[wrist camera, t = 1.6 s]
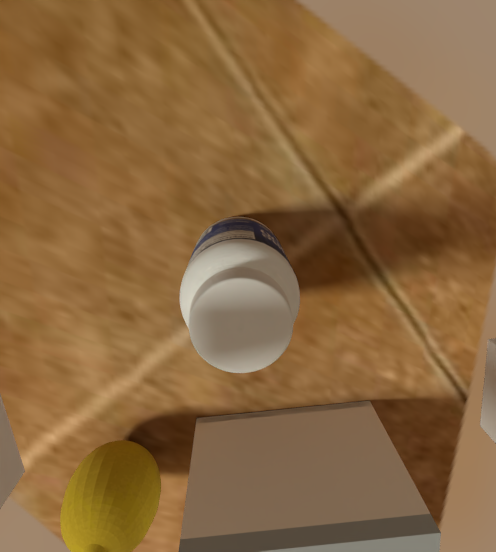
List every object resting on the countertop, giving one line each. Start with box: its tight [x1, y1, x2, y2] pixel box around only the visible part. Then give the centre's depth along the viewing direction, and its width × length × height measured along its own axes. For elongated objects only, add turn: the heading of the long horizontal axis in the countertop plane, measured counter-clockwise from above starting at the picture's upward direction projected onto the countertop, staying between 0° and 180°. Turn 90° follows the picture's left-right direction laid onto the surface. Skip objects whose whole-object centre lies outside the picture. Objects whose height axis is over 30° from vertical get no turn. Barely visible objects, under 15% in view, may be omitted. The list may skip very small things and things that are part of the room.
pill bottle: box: [180, 217, 300, 373], centre depth 20 cm, size 5×5×10 cm
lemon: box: [60, 440, 161, 552], centre depth 25 cm, size 6×6×8 cm
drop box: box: [179, 401, 441, 552], centre depth 25 cm, size 12×12×10 cm
